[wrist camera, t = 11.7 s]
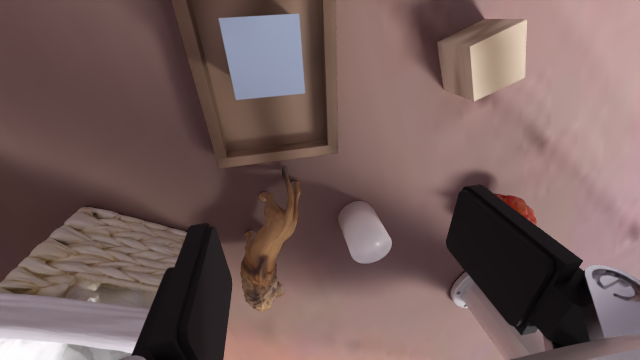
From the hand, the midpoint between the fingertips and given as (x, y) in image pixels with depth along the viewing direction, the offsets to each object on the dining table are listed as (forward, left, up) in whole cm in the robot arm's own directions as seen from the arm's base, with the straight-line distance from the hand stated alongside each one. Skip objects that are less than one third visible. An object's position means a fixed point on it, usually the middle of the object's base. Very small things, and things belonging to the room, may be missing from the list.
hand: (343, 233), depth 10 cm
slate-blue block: (+2, -5, -19) cm, 19 cm away
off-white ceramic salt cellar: (-7, +16, -20) cm, 26 cm away
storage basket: (+23, +21, -20) cm, 37 cm away
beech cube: (-18, -3, -20) cm, 27 cm away
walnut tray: (+2, -5, -19) cm, 20 cm away
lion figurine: (+4, +14, -20) cm, 25 cm away
